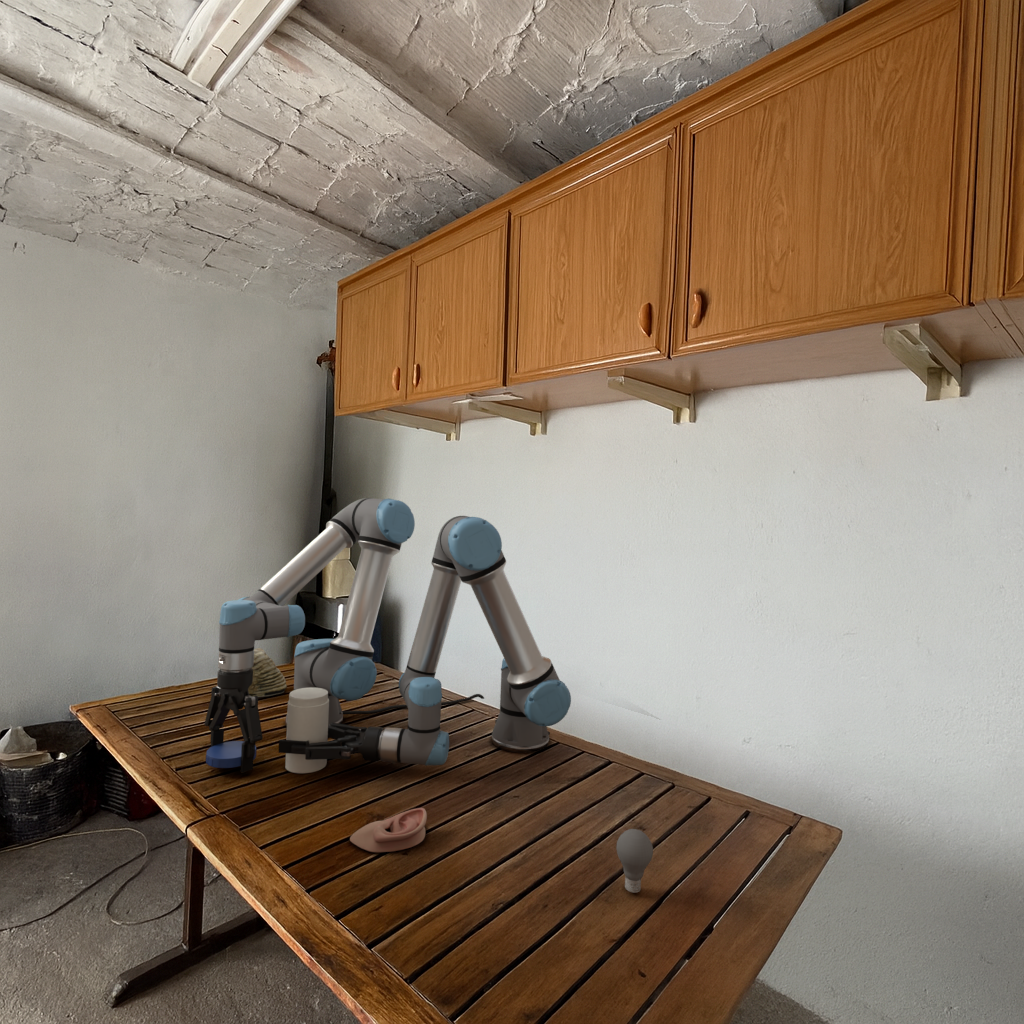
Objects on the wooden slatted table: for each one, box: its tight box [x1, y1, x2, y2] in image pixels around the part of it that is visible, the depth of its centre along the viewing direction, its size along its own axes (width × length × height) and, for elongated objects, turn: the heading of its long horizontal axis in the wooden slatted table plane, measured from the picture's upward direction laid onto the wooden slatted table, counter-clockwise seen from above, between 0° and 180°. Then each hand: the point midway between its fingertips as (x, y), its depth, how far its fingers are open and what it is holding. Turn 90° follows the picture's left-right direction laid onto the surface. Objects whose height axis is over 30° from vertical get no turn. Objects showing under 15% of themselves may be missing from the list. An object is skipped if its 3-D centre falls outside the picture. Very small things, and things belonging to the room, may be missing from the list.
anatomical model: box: [349, 807, 428, 853], centre depth 119 cm, size 13×4×12 cm
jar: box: [284, 688, 329, 774], centre depth 149 cm, size 9×9×17 cm
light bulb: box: [615, 828, 654, 894], centre depth 106 cm, size 6×6×10 cm
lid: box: [205, 740, 257, 769], centre depth 146 cm, size 11×11×2 cm
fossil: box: [248, 647, 288, 698], centre depth 198 cm, size 9×18×15 cm, turn 132°
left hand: (231, 764), depth 146 cm, fingers closed on lid, 10 cm apart
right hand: (288, 737), depth 149 cm, fingers closed on jar, 9 cm apart
